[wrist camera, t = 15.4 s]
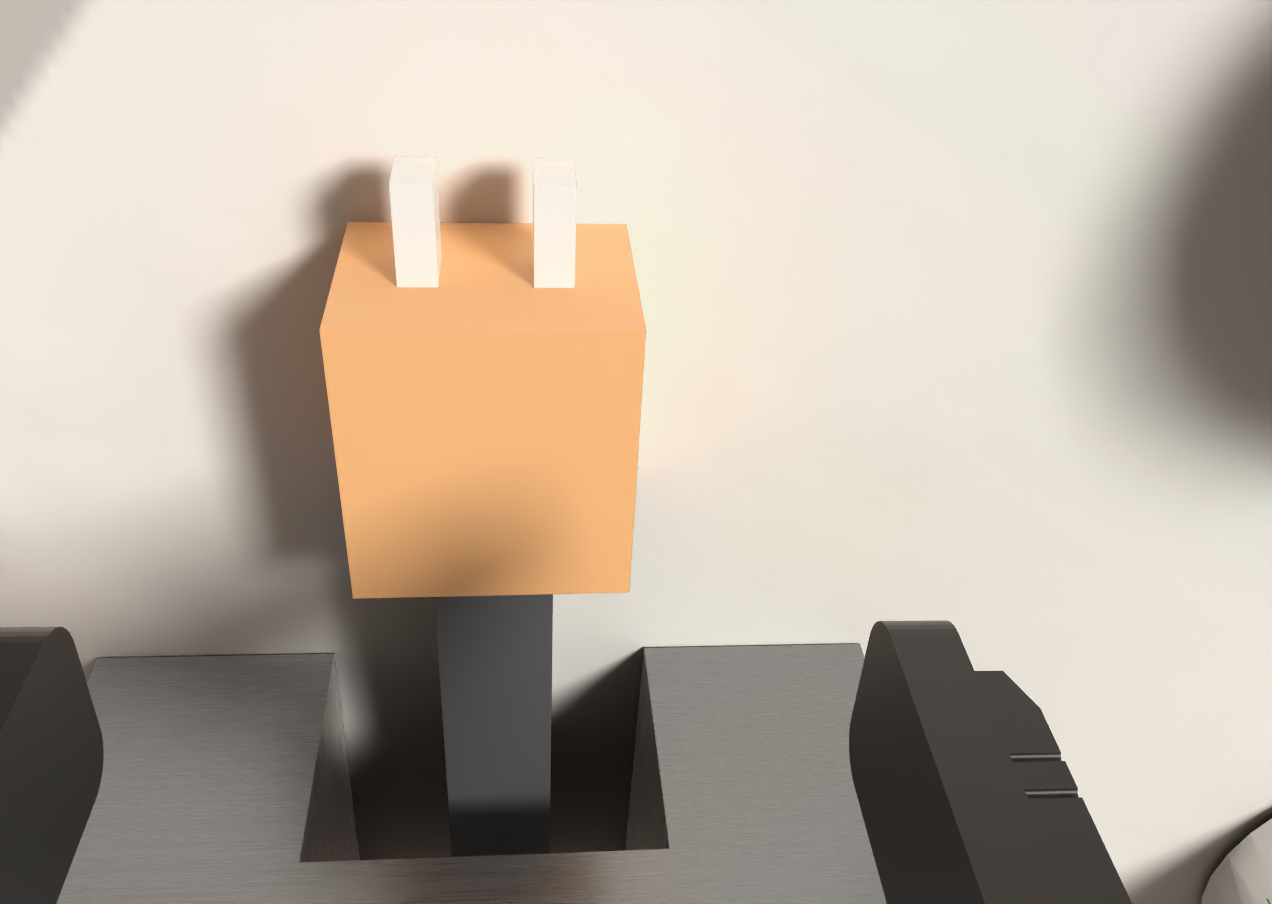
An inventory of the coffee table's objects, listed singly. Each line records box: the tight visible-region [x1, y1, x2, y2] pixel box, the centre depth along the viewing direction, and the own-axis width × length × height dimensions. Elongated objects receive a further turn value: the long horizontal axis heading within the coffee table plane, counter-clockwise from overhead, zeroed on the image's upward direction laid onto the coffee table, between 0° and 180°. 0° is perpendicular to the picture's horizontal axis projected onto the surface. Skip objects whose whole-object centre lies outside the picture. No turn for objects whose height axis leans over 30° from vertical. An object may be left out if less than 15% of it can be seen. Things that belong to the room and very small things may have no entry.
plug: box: [319, 156, 646, 857], centre depth 24 cm, size 4×25×4 cm, turn 177°
